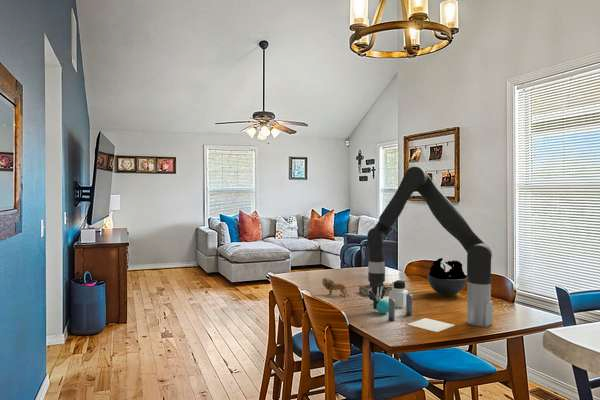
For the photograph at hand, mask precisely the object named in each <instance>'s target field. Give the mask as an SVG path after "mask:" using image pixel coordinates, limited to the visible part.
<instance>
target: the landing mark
mask: <svg viewBox="0 0 600 400" xmlns="http://www.w3.org/2000/svg"><path fill="white" fill-rule="evenodd" d="M406 325H407V326H411V327H415V328H418V329H422V330H426V331H431V332H434V333H439V332H441V331H445V330H447V329H450V328H453V327H455V326H456V324H452V323H449V322H445V321H439V320H436V319H431V318H427V317H423V318H422V319H418V320H415V321H412V322H409V323H407V324H406Z"/></svg>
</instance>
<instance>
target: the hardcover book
mask: <svg viewBox="0 0 600 400" xmlns="http://www.w3.org/2000/svg"><path fill="white" fill-rule="evenodd" d="M369 286H370V284H369V285H360V286H359V293H361V292H362V293H361V294H363V295H365V296H367V297H368V295H367V293H366V290H369ZM384 287H387V290H386V292H385V294H384V296H388V297H389V291H391V290H393V289H392V283H390V284H389V283H388V284H387V283H386V284H384Z"/></svg>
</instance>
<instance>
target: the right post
mask: <svg viewBox="0 0 600 400" xmlns="http://www.w3.org/2000/svg"><path fill="white" fill-rule="evenodd" d="M405 315H406V316H410V317H411V316H413V294H410V293H408V294H406V306H405Z"/></svg>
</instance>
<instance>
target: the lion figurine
mask: <svg viewBox="0 0 600 400" xmlns="http://www.w3.org/2000/svg"><path fill="white" fill-rule="evenodd" d="M321 281H322V282H321V284H322V286H323V287H324V288H325V289H326V290H328V293H330V294H328V296H329V295H331V296H332V293H333V291H338V290H339V291H340V292H341V293H339V294H340V296H342V297H343V298H345V297H346V295H347V296H350V294H349V293H347V288H346V286H345V284H344V283H341V282H340V283H339V282H338V283H337V282H334V281H333V280H331V279H330V278H328V277H323V278H322V280H321Z"/></svg>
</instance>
